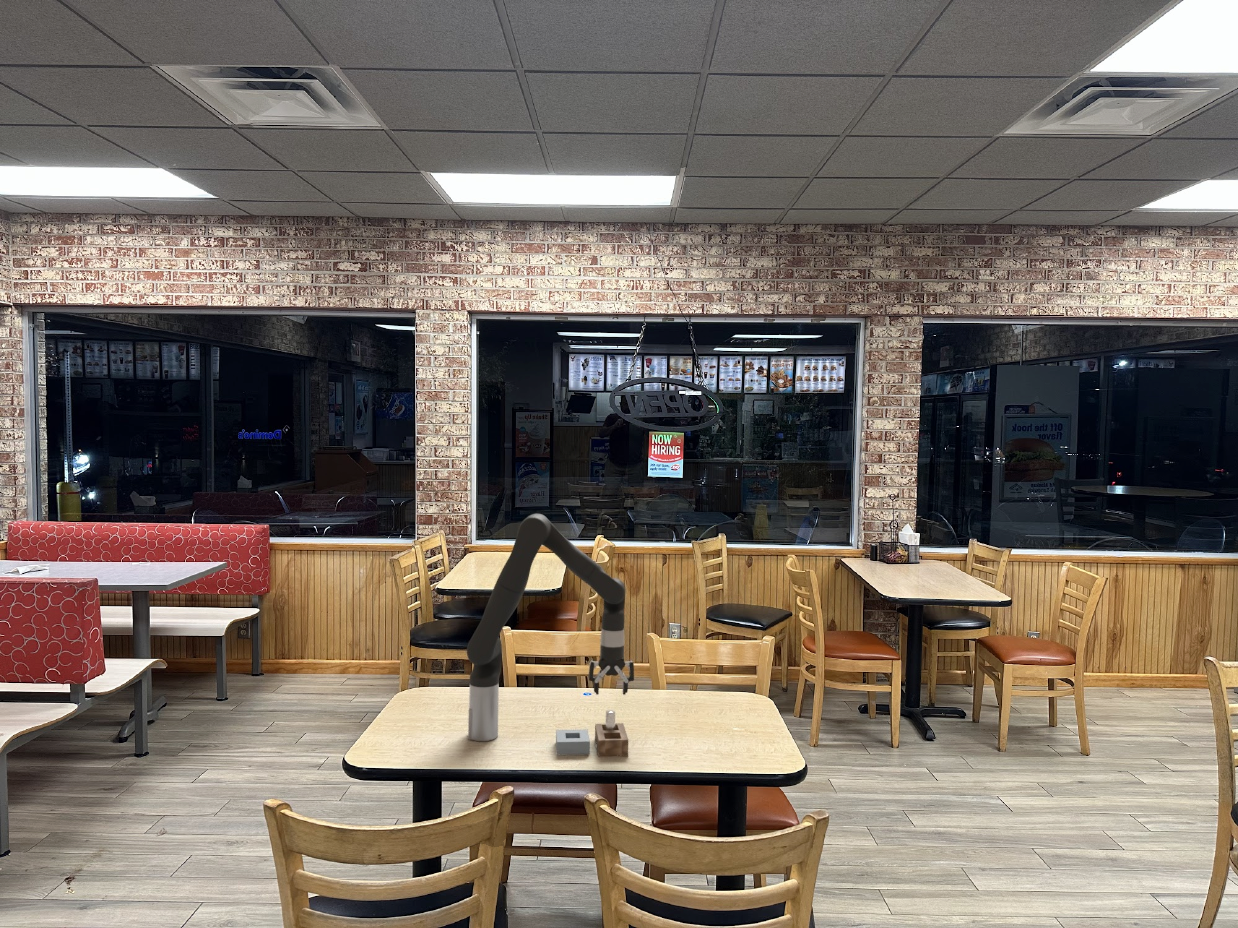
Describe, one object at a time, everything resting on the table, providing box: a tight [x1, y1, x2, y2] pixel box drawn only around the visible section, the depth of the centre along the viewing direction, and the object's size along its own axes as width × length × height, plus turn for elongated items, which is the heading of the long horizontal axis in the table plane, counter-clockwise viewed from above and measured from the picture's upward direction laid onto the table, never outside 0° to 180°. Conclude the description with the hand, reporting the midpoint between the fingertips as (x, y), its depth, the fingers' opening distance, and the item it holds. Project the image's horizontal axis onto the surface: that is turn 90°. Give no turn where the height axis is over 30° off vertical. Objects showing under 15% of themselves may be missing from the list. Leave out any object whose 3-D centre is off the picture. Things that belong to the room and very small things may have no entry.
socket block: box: [555, 728, 591, 756], centre depth 243 cm, size 10×10×4 cm
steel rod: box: [605, 709, 616, 730], centre depth 248 cm, size 3×3×10 cm
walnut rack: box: [594, 722, 629, 758], centre depth 244 cm, size 9×14×5 cm, turn 6°
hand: (610, 693), depth 248 cm, fingers open, 8 cm apart
